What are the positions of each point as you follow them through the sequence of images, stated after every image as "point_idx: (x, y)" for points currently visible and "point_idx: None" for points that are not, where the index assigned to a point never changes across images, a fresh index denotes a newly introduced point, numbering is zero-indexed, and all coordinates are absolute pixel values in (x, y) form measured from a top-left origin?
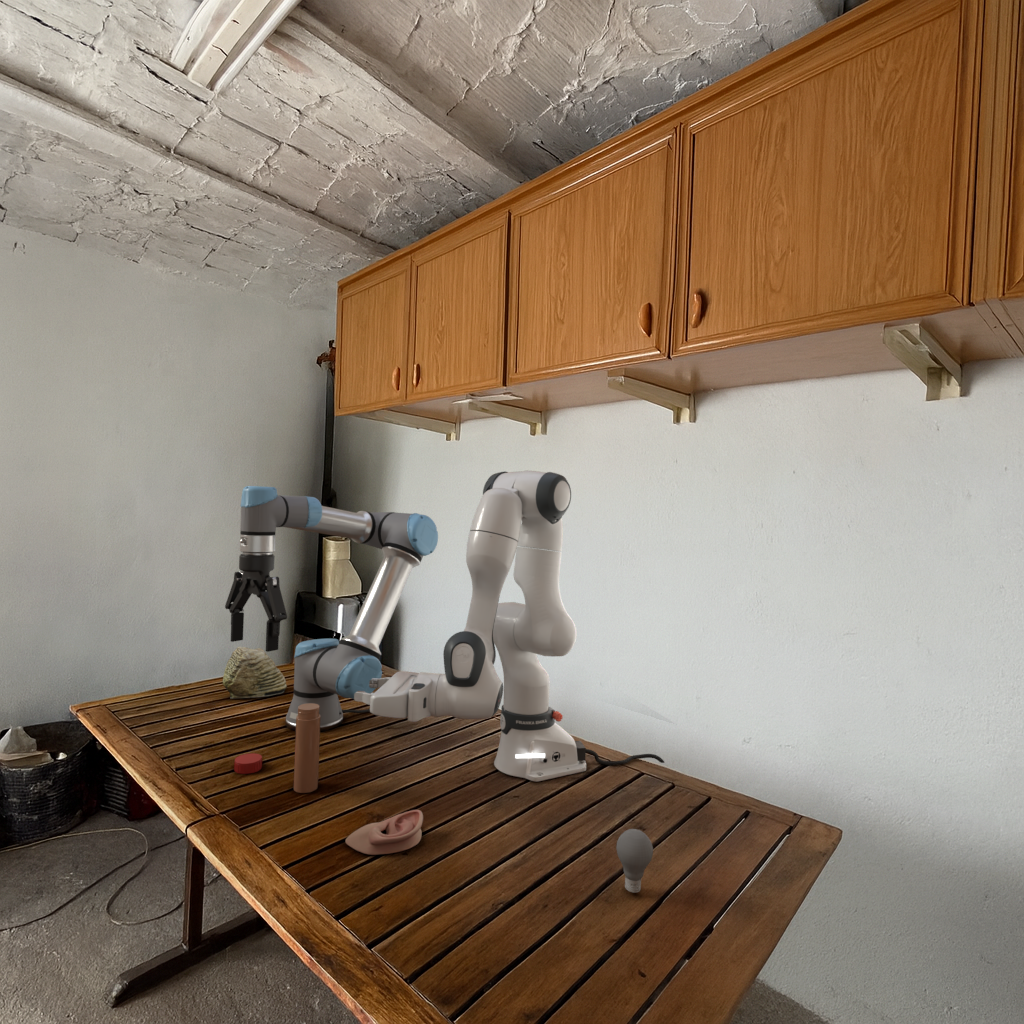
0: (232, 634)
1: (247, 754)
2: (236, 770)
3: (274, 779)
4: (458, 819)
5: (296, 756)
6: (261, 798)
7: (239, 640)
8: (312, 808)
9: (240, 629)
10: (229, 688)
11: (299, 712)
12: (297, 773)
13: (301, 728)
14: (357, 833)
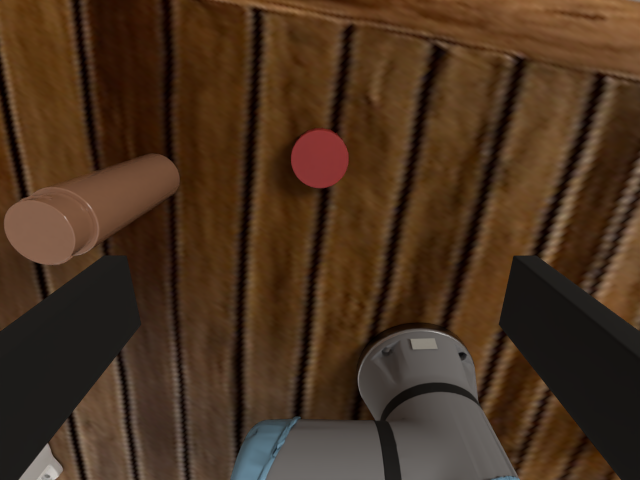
0: (545, 280)
1: (339, 170)
2: (320, 128)
3: (234, 160)
4: None
5: (119, 166)
6: (172, 90)
7: (504, 303)
8: (69, 130)
9: (544, 355)
10: None
11: (40, 195)
12: (131, 159)
13: (57, 183)
14: None
